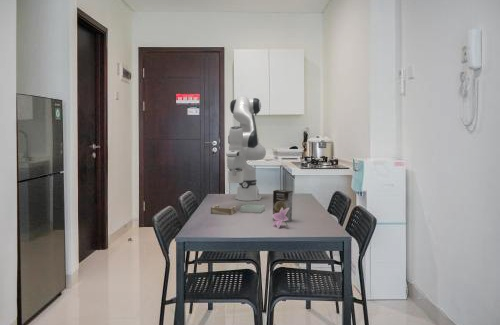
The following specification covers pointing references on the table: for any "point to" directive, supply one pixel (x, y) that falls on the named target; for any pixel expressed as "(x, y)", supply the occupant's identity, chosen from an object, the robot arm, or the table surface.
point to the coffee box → (282, 202)
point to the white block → (237, 178)
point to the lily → (280, 217)
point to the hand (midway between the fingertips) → (236, 175)
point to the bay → (223, 210)
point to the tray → (253, 208)
